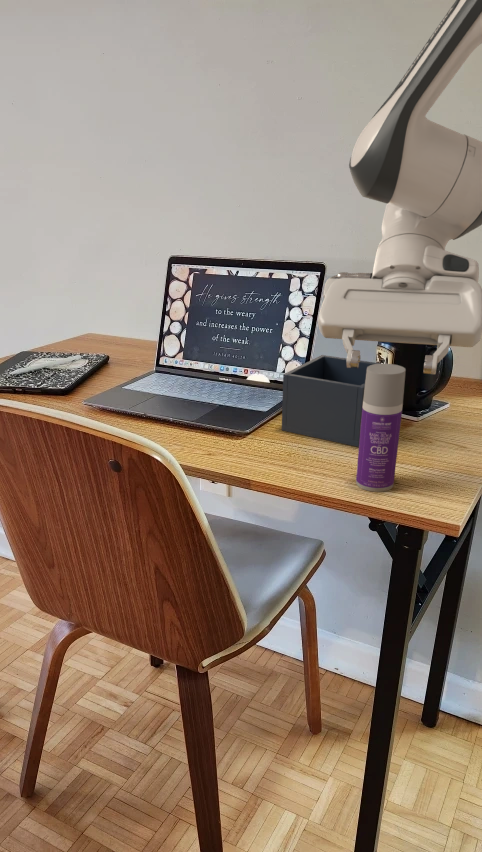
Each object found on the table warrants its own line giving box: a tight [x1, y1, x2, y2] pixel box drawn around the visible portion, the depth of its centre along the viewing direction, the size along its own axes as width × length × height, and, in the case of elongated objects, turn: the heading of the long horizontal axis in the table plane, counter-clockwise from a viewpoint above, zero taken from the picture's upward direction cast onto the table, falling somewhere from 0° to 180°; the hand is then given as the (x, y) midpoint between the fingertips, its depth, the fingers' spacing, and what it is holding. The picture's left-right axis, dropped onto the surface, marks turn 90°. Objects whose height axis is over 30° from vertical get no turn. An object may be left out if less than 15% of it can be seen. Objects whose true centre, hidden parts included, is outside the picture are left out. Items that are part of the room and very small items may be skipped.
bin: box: [281, 354, 382, 448], centre depth 104 cm, size 13×13×9 cm
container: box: [355, 363, 407, 493], centre depth 84 cm, size 5×5×15 cm
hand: (390, 368), depth 86 cm, fingers open, 8 cm apart
